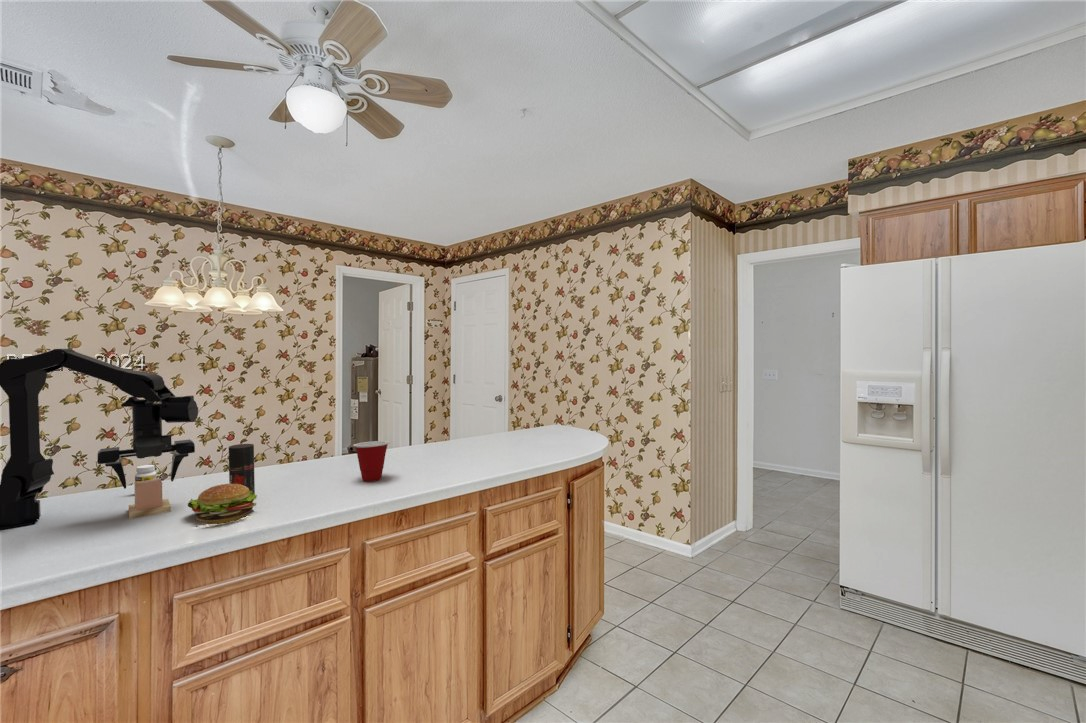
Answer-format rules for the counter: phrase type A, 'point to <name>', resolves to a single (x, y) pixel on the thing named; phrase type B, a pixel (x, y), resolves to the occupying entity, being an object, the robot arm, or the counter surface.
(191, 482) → the counter surface
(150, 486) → the block
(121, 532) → the counter surface
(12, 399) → the robot arm
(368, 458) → the plastic cup
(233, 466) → the deodorant
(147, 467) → the supplement bottle
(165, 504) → the tan square slab
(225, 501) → the food
